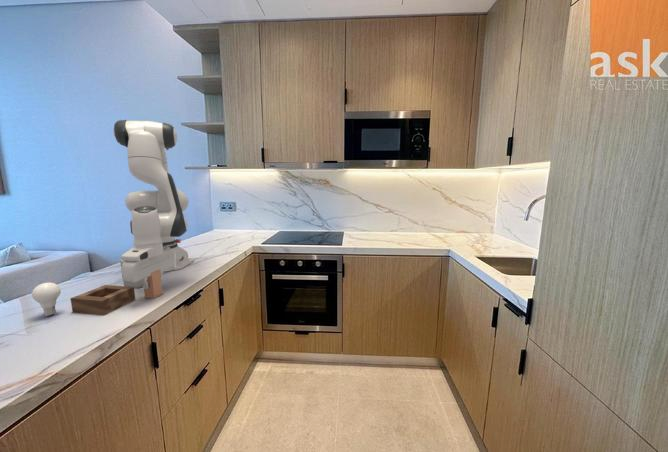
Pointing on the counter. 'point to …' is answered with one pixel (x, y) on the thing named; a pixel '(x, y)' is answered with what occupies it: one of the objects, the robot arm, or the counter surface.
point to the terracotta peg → (154, 285)
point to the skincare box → (135, 285)
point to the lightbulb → (47, 296)
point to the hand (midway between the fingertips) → (152, 285)
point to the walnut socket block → (102, 299)
